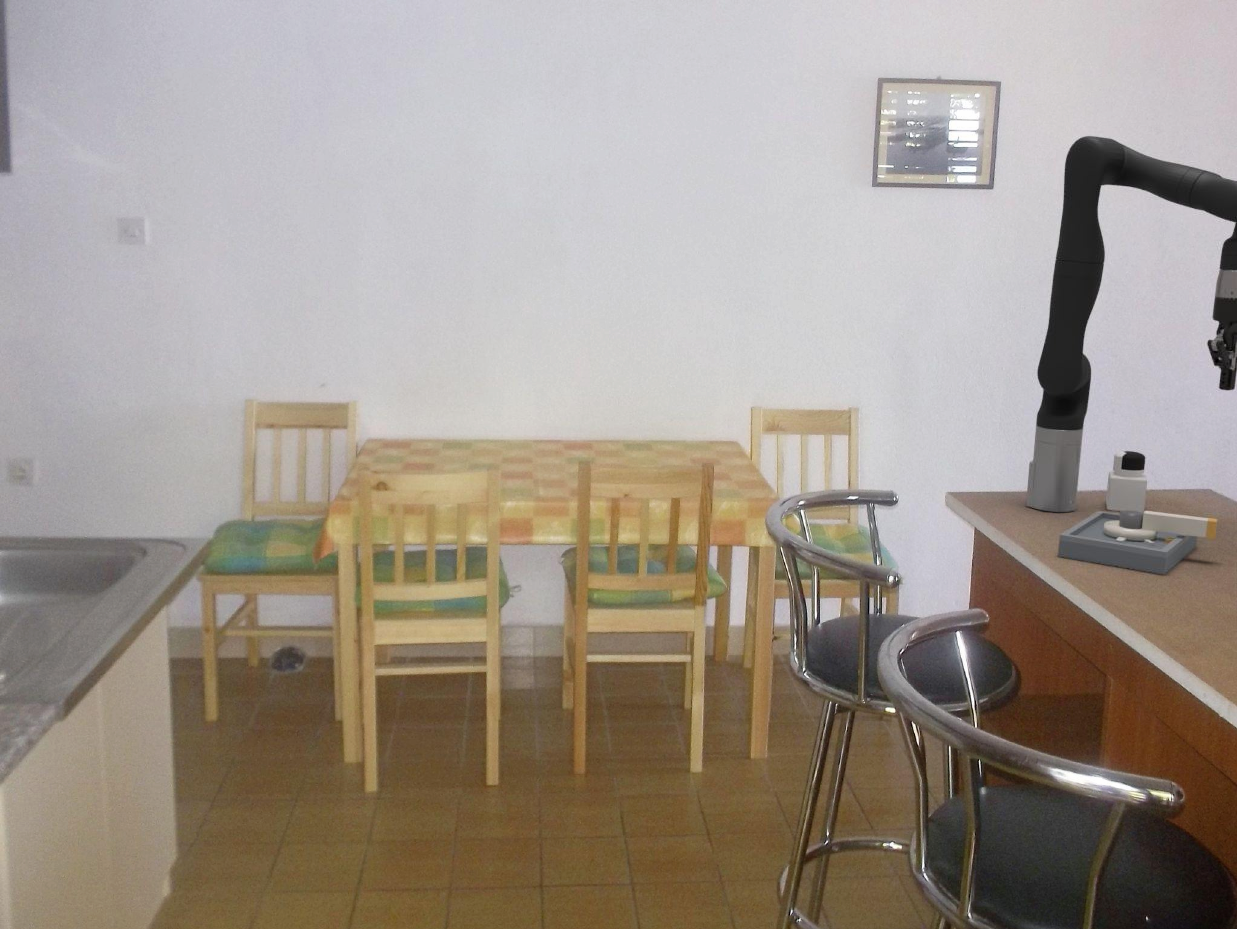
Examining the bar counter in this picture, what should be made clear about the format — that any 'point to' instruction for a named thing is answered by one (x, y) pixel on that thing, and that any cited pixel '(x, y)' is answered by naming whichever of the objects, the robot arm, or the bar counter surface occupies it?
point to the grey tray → (1123, 546)
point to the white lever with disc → (1158, 525)
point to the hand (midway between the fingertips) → (1226, 389)
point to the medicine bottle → (1127, 482)
